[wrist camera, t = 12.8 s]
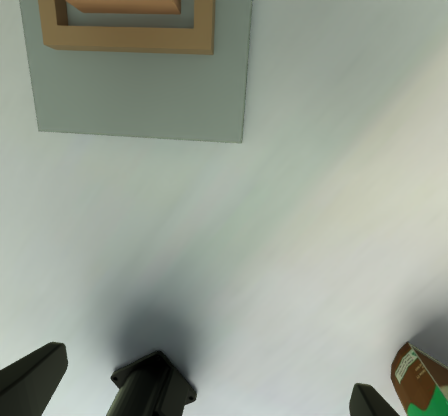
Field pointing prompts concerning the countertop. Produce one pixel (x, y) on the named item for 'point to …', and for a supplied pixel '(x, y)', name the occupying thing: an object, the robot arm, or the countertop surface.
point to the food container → (420, 382)
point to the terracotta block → (128, 6)
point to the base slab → (140, 70)
